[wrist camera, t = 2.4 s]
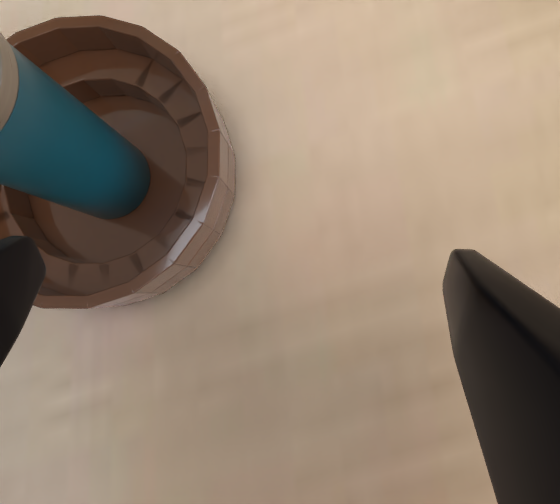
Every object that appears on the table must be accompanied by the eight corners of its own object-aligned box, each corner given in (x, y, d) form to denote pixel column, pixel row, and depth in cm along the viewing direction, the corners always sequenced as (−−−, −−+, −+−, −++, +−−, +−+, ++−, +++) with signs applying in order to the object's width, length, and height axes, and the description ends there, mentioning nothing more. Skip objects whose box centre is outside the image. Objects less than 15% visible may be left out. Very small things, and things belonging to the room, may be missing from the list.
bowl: (189, 339, 23) (160, 350, 19) (-35, 261, 25) (-112, 254, 20) (269, 100, 24) (260, 57, 20) (48, 39, 25) (-8, -15, 21)
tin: (135, 231, 23) (-35, 174, 12) (58, 206, 24) (-176, 128, 12) (163, 151, 24) (24, 20, 12) (87, 128, 24) (-116, -19, 13)
